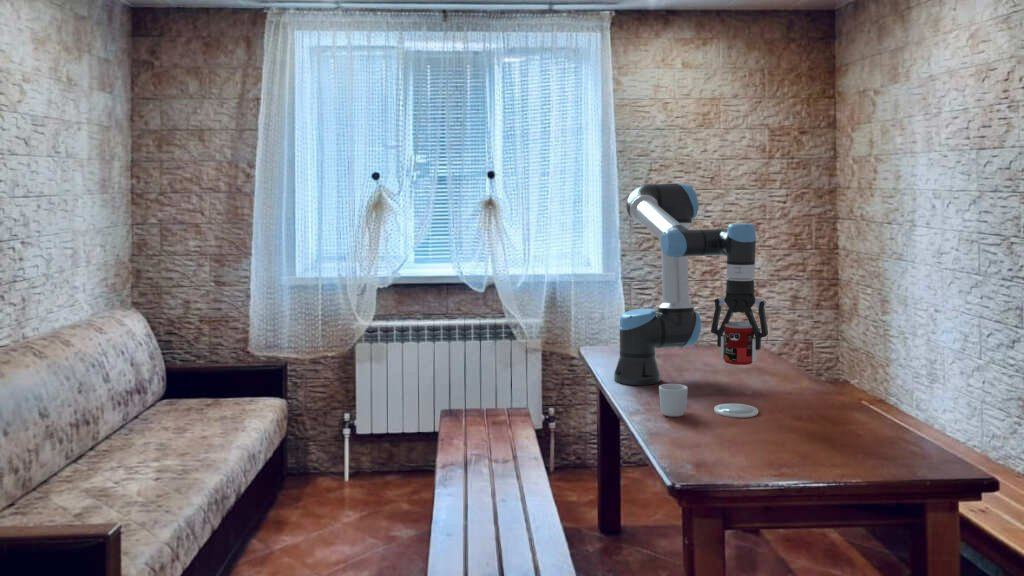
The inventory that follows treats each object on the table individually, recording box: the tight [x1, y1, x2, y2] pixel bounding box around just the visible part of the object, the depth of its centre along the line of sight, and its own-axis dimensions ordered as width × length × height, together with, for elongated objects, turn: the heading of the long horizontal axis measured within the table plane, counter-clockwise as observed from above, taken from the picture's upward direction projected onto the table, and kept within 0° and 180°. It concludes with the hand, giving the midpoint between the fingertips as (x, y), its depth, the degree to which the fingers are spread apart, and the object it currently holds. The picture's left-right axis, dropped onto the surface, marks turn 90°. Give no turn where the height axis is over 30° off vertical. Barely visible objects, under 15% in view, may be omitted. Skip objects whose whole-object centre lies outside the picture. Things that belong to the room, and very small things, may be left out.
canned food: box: [723, 321, 755, 366], centre depth 230 cm, size 8×8×11 cm
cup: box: [658, 383, 689, 418], centre depth 231 cm, size 11×8×8 cm
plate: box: [713, 403, 759, 419], centre depth 232 cm, size 12×12×1 cm
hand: (738, 359), depth 231 cm, fingers closed on canned food, 8 cm apart
